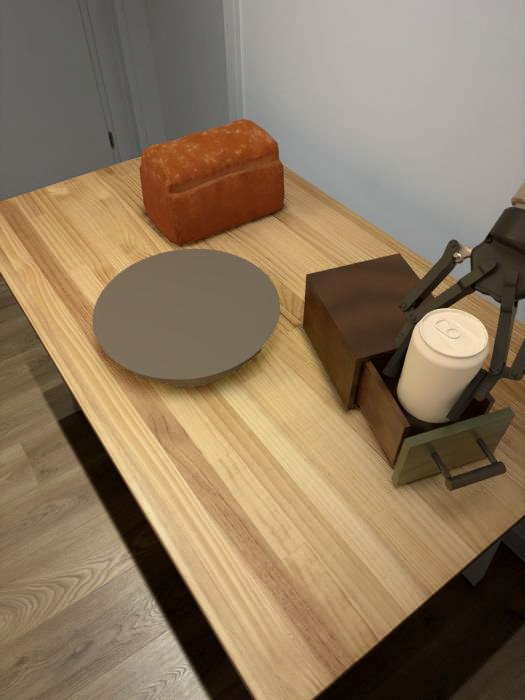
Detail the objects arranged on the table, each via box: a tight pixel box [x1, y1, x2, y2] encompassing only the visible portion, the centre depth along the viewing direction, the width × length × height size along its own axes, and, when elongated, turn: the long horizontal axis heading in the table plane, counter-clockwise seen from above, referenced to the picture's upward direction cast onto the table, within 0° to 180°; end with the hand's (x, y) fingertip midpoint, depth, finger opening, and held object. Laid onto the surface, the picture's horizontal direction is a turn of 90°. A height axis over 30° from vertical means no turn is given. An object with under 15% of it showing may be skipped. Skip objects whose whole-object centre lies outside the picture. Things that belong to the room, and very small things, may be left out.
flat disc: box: [92, 248, 281, 389], centre depth 85 cm, size 28×28×4 cm
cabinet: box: [302, 252, 436, 411], centre depth 78 cm, size 17×15×11 cm
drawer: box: [355, 353, 516, 492], centre depth 69 cm, size 20×14×9 cm
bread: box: [138, 118, 286, 245], centre depth 102 cm, size 17×24×15 cm
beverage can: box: [397, 307, 490, 423], centre depth 63 cm, size 8×8×12 cm
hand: (418, 396), depth 64 cm, fingers closed on beverage can, 8 cm apart
